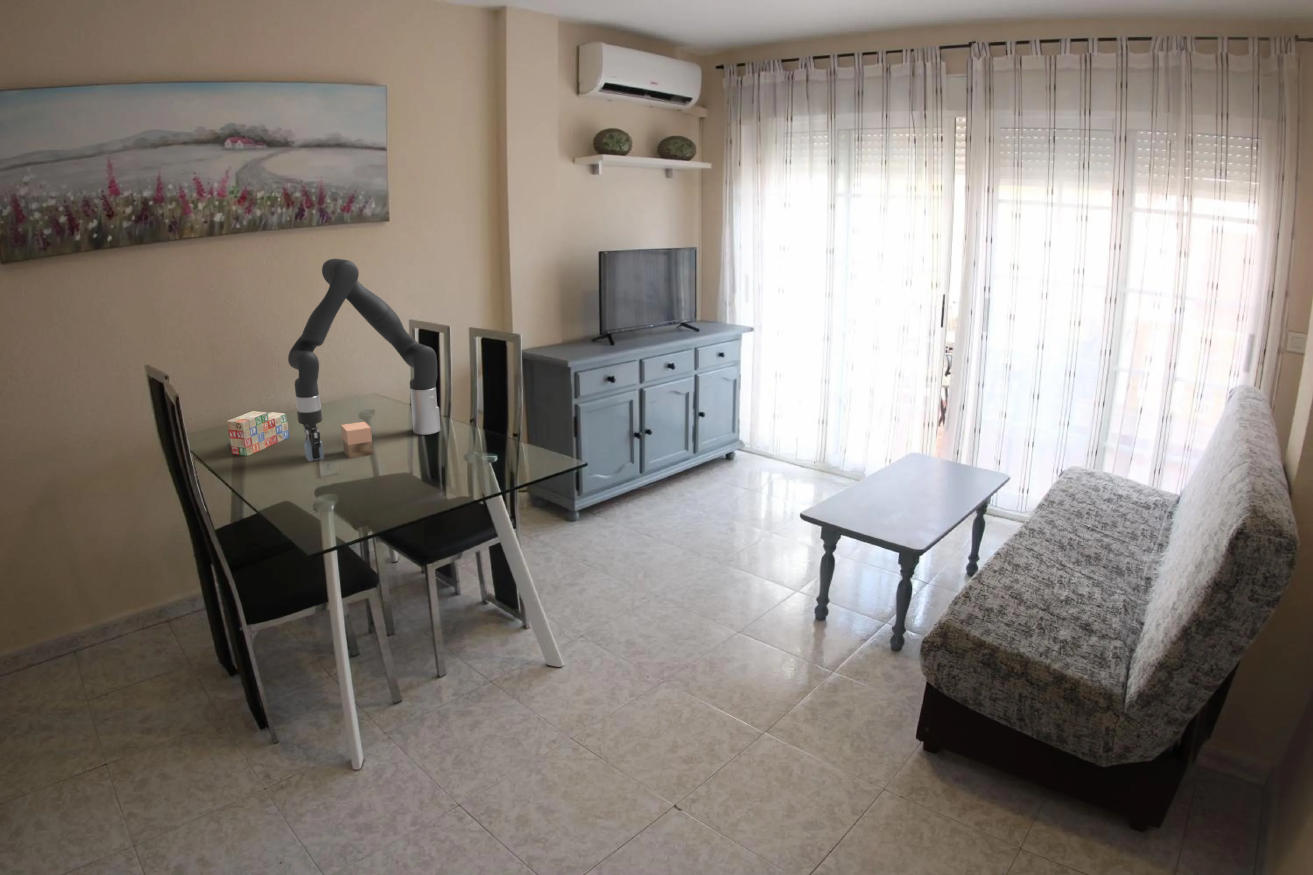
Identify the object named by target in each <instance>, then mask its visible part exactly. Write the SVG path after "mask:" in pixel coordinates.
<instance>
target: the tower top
mask: <svg viewBox="0 0 1313 875" xmlns="http://www.w3.org/2000/svg"><path fill="white" fill-rule="evenodd" d="M340 430H341V439H342V441H343V440H344V441H345V442H346V443H347V444H348V445H352V444H358V443H365V442H371V441H372V442H373V437H372V428H371V426H370V425H369V424H368V423H367V422H366V421H361V422H360V421H359V422H353V423H345V424H341V425H340Z"/></svg>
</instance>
